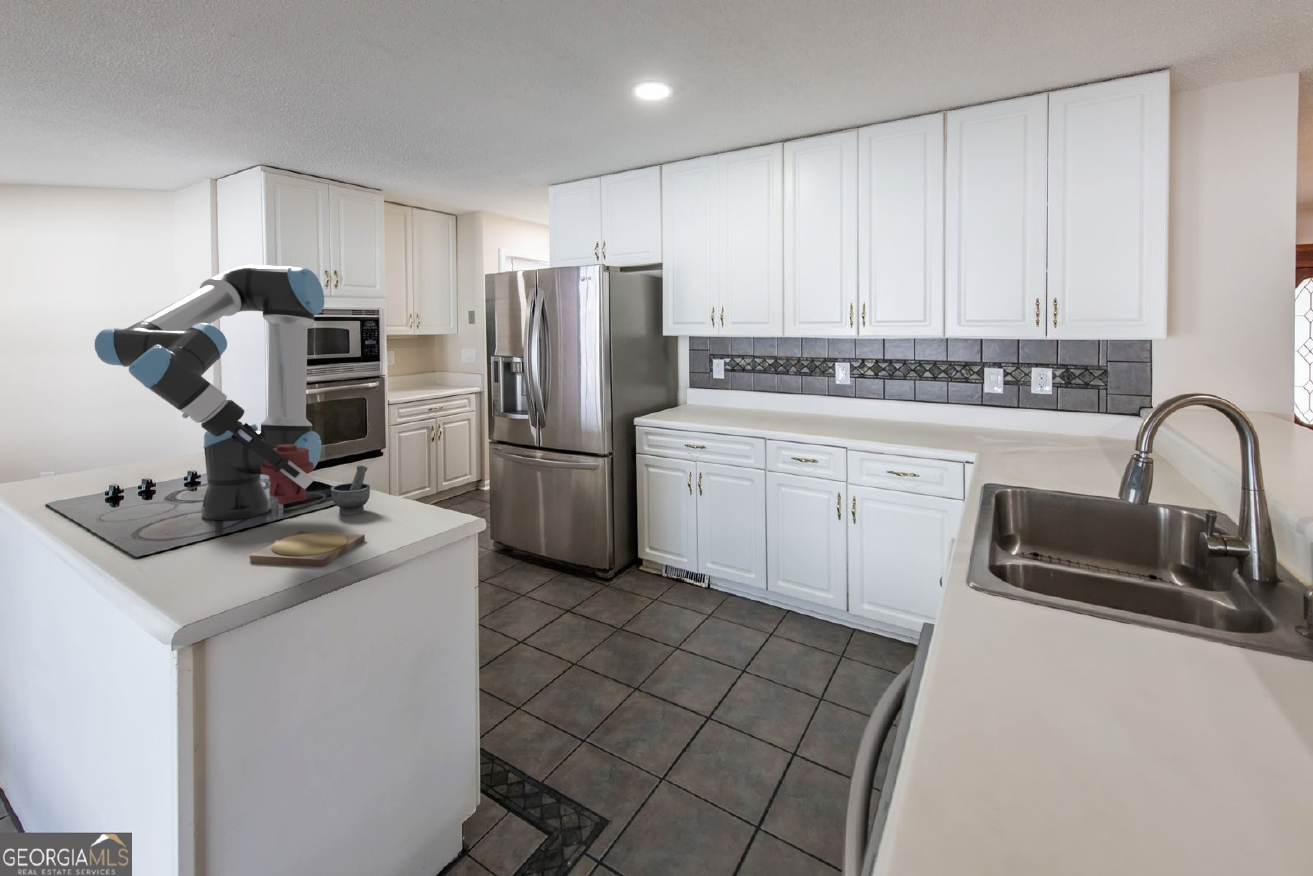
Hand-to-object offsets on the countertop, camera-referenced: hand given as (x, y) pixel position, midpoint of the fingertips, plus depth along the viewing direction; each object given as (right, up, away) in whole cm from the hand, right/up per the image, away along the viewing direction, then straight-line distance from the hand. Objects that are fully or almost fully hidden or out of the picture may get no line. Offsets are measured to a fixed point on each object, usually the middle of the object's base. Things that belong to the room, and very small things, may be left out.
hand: (304, 479), depth 141 cm
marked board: (0, -16, +2) cm, 16 cm away
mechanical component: (-3, -5, -1) cm, 6 cm away
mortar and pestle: (-4, -11, +32) cm, 34 cm away
